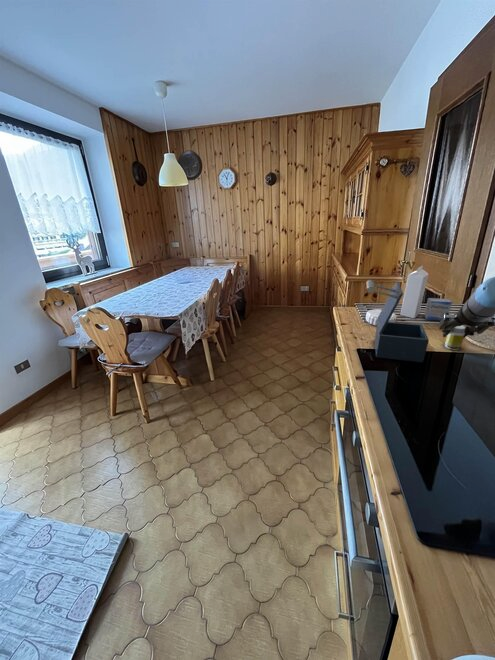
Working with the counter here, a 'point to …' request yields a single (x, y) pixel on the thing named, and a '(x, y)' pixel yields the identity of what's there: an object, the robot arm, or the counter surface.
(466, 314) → the robot arm
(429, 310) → the medicine box
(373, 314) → the mooncake
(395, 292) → the compartment lid
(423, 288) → the milk
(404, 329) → the compartment
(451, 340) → the supplement bottle
